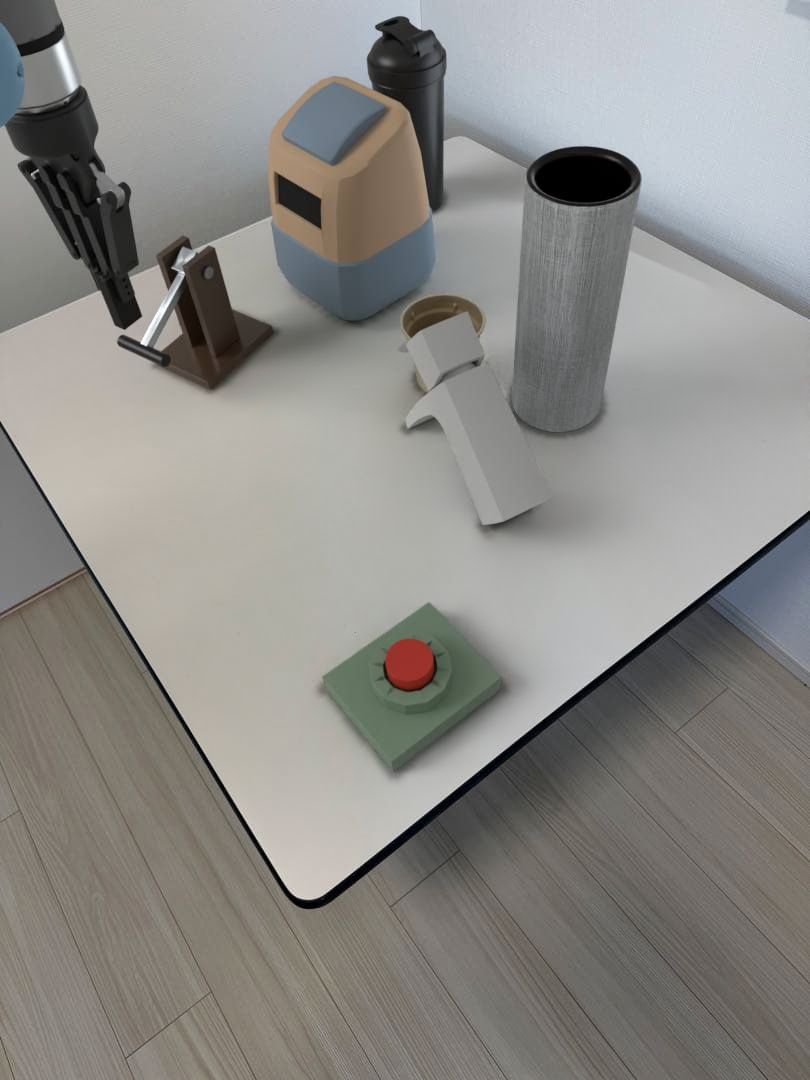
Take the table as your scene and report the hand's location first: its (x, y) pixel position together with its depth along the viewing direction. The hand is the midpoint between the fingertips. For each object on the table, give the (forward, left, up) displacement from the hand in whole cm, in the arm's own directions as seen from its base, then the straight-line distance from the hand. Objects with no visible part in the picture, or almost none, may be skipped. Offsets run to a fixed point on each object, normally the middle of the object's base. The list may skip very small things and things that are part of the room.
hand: (128, 320), depth 88 cm
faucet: (+38, -9, -11) cm, 40 cm away
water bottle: (+26, +43, -11) cm, 51 cm away
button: (+35, -35, -8) cm, 50 cm away
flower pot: (+34, +5, -11) cm, 36 cm away
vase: (+47, +2, -11) cm, 48 cm away
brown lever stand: (+5, +9, -11) cm, 15 cm away
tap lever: (+3, +5, -3) cm, 7 cm away
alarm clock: (+21, +23, -11) cm, 33 cm away
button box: (+35, -35, -11) cm, 50 cm away
